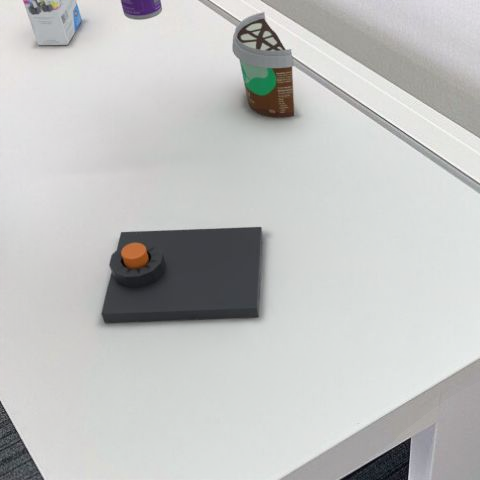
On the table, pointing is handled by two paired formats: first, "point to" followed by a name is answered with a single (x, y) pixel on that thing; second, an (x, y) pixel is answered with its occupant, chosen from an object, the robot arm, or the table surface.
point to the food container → (264, 67)
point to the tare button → (135, 255)
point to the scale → (187, 276)
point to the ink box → (53, 20)
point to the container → (141, 8)
